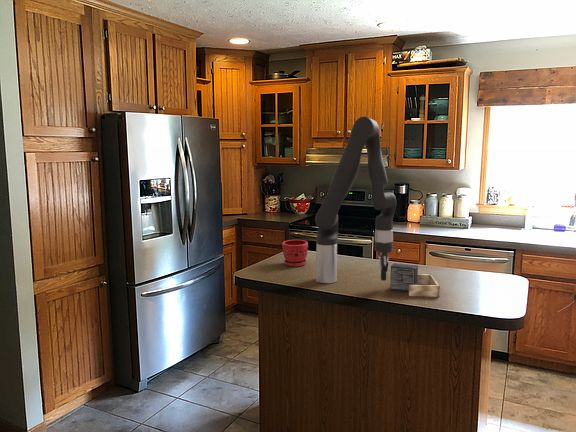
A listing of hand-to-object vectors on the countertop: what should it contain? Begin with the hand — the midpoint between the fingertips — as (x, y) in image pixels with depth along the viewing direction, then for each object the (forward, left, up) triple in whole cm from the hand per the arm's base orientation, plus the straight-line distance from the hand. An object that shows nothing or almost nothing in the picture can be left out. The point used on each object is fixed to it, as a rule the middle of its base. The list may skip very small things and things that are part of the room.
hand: (383, 280), depth 198 cm
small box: (+9, 0, -4) cm, 9 cm away
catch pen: (+15, 0, -4) cm, 16 cm away
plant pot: (-41, +38, -4) cm, 56 cm away
